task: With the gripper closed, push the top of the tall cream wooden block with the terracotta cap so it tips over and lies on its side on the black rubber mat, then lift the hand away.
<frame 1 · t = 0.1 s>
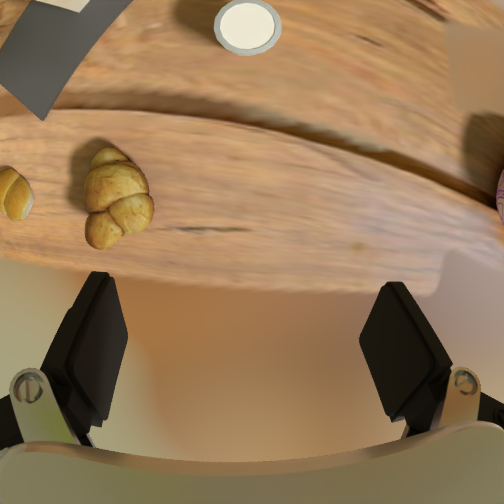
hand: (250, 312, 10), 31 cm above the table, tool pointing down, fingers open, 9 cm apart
rubber mat: (52, 32, 24), on the table
bread roll 2: (124, 185, 39), on the table
white cylinder: (244, 35, 29), on the table
bread roll: (17, 192, 37), on the table
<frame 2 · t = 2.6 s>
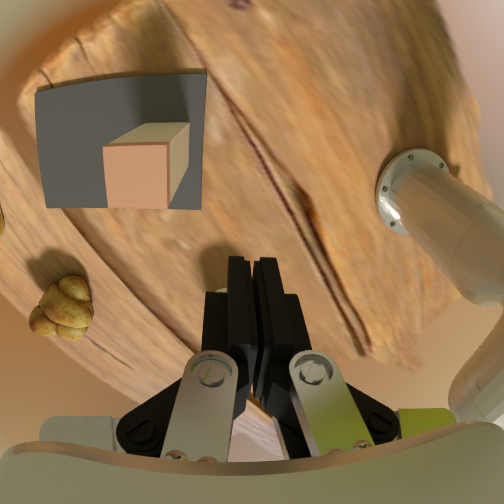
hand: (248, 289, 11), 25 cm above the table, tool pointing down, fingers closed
rubber mat: (111, 144, 30), on the table
cream block: (166, 144, 30), point 1 cm above the table, touching rubber mat
bread roll 2: (74, 296, 43), on the table
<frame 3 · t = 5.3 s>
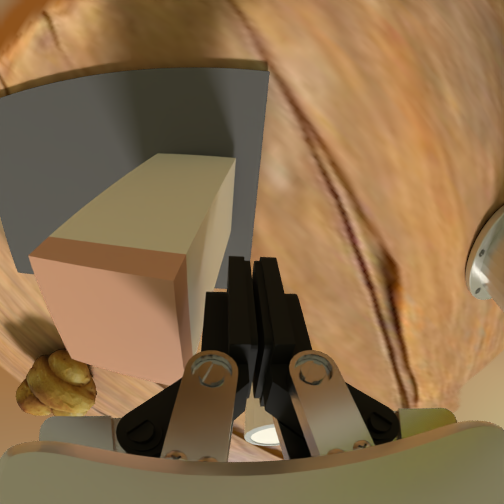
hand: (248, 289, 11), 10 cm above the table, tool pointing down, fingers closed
rubber mat: (101, 186, 19), on the table
cream block: (194, 192, 19), point 1 cm above the table, tilted 8°, touching rubber mat
bread roll 2: (69, 367, 31), on the table
white cylinder: (271, 382, 33), on the table
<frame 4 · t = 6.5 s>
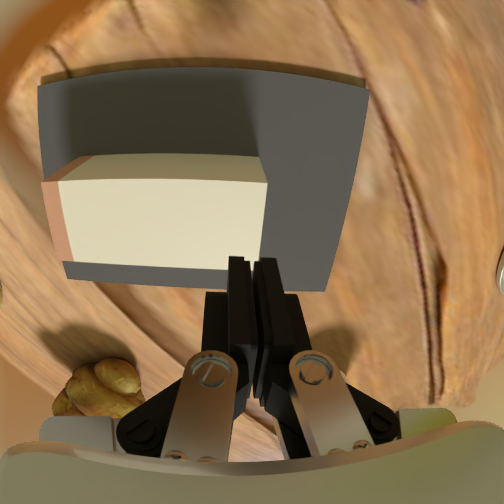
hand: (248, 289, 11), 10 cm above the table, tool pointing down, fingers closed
rubber mat: (187, 187, 19), on the table
cream block: (258, 209, 17), point 3 cm above the table, tilted 90°, touching rubber mat
bread roll 2: (112, 375, 31), on the table
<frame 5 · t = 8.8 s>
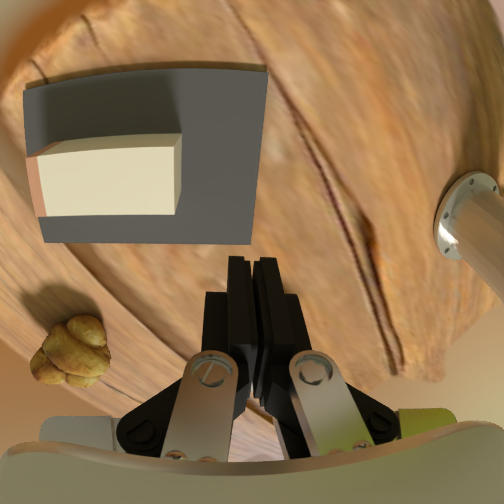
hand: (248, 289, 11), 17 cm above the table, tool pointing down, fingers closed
rubber mat: (132, 161, 23), on the table
cream block: (177, 171, 22), point 3 cm above the table, tilted 90°, touching rubber mat
bread roll 2: (83, 335, 35), on the table
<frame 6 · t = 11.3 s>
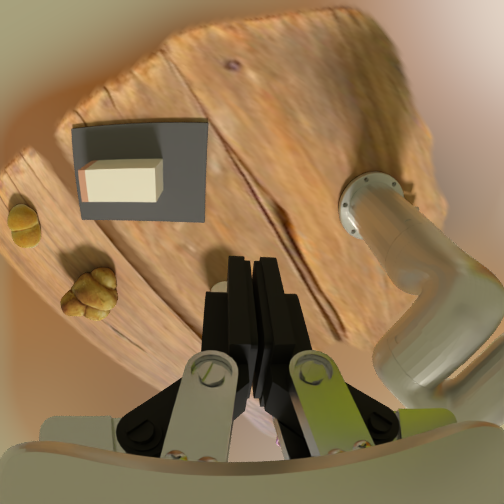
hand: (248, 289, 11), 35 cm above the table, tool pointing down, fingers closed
rubber mat: (136, 173, 43), on the table
cream block: (159, 179, 40), point 3 cm above the table, tilted 90°, touching rubber mat
bread roll 2: (100, 284, 54), on the table
white cylinder: (225, 292, 57), on the table
bread roll: (28, 223, 45), on the table
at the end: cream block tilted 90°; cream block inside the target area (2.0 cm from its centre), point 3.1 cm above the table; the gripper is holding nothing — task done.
